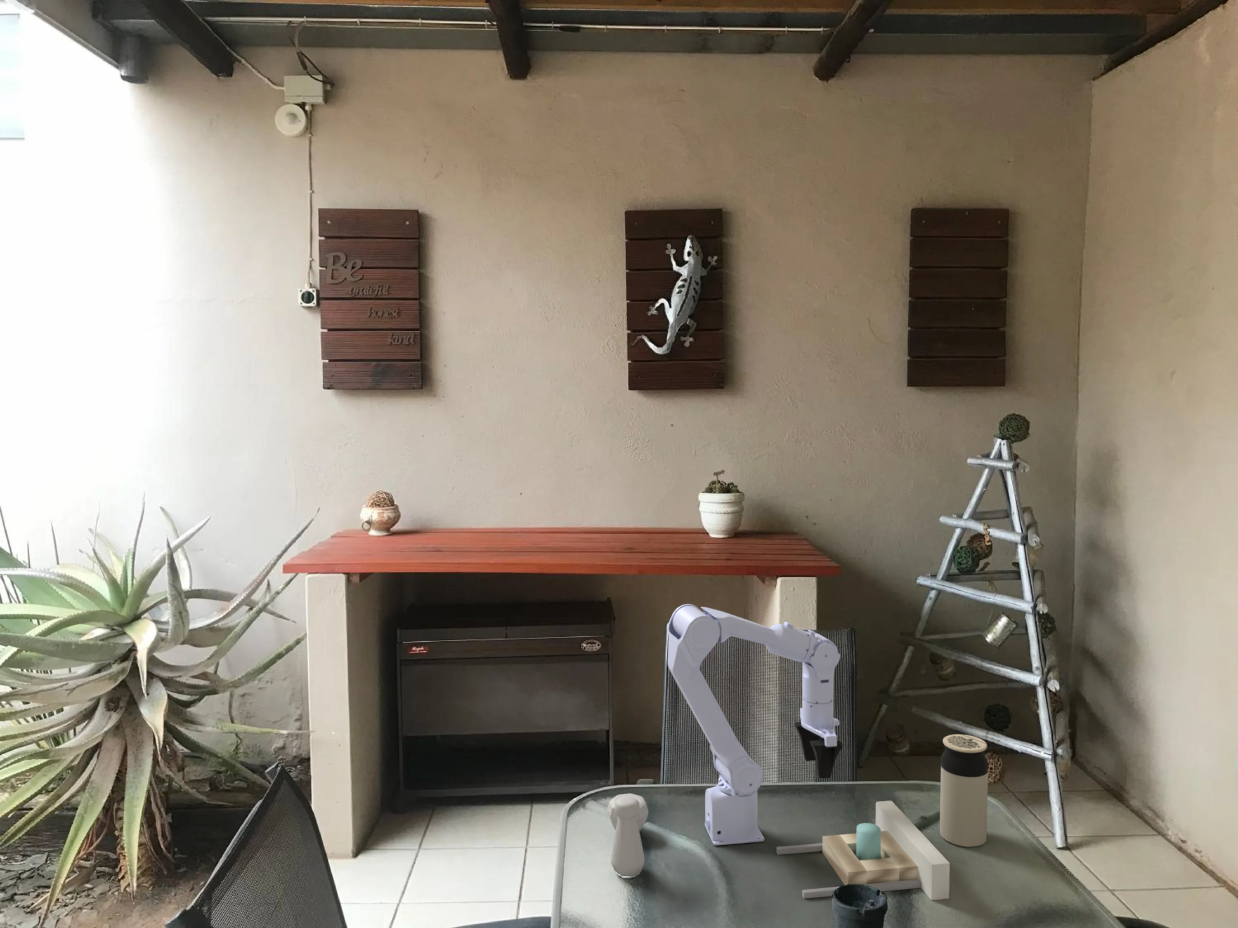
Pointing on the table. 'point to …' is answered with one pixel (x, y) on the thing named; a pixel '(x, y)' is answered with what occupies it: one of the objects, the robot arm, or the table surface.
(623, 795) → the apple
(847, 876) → the socket block
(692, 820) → the table surface
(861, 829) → the dowel
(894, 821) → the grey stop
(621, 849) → the salt shaker
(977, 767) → the travel mug
